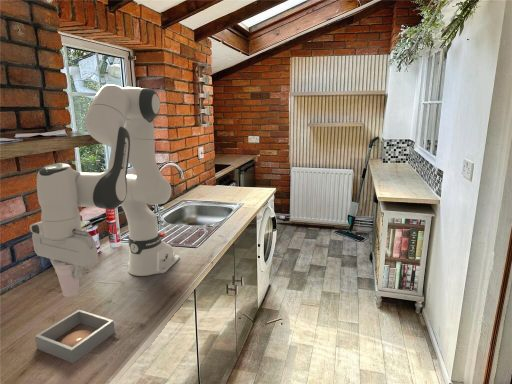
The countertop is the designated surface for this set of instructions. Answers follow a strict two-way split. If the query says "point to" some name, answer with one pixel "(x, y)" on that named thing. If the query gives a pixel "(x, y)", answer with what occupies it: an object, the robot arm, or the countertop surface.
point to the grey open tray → (82, 348)
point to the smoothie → (67, 278)
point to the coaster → (75, 337)
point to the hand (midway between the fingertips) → (68, 275)
